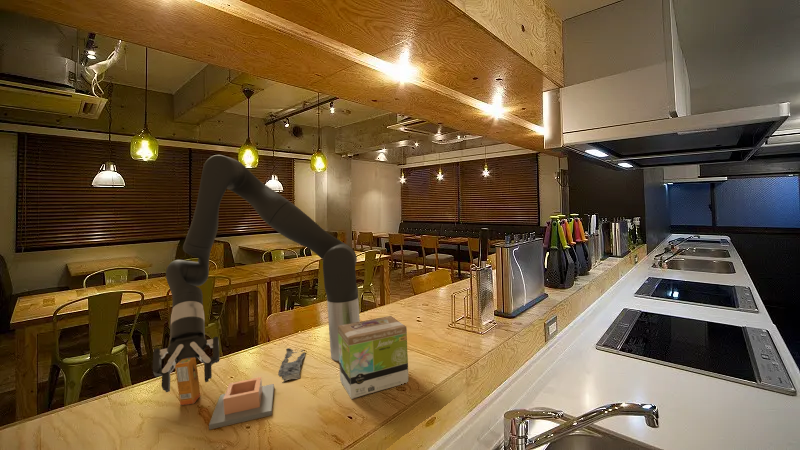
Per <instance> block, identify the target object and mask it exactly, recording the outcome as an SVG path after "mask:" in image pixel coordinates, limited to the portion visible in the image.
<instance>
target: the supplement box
mask: <svg viewBox="0 0 800 450" xmlns="http://www.w3.org/2000/svg"><path fill="white" fill-rule="evenodd" d="M174 369H175V377H176V383H177V390H178V392H177V393H178V397H179V405H180V406H187V405H192V404H193V405H194V404H195V403H196V401H197V400H198V399H199V398H200V397H201V389H200V382H199V381H200V380H199V372H198V365H197V358H195V357H194V358H186V359H182V360H181V361H180V362H178V363H177V364H176V365H175V368H174Z"/></svg>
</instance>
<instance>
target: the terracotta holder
mask: <svg viewBox="0 0 800 450" xmlns="http://www.w3.org/2000/svg"><path fill="white" fill-rule="evenodd" d="M262 383H263V381H262V376H258V377H254V378H249V379H244V380H239V381H235V382H229V383H228V386H227V388H226V390H225V393H224V394H225V396H224V399H223V402H224V413H225V415H227V414H231V413H235V412H240V411H244V410H249V409H253V408H258V407H260V403H261V396H262V386H263V384H262Z"/></svg>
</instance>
